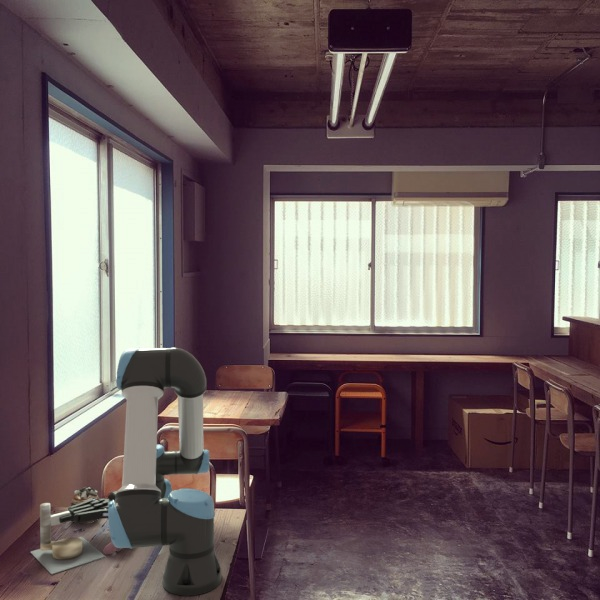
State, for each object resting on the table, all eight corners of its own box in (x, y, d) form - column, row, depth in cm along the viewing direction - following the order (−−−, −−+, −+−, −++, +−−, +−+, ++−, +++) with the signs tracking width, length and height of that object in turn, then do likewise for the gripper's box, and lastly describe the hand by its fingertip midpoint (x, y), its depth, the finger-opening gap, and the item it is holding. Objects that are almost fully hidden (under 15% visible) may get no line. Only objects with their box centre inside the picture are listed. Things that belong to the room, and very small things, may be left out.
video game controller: (114, 561, 174) (124, 541, 173) (100, 553, 175) (110, 532, 174) (130, 546, 184) (139, 526, 183) (117, 538, 184) (127, 518, 183)
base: (105, 557, 173) (105, 555, 173) (51, 574, 163) (51, 573, 163) (81, 537, 186) (81, 536, 186) (30, 552, 176) (30, 551, 176)
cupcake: (63, 521, 197) (63, 491, 197) (87, 510, 206) (86, 481, 205) (84, 527, 193) (84, 496, 192) (107, 516, 201) (107, 486, 201)
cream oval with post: (87, 547, 178) (86, 501, 177) (74, 560, 170) (73, 512, 169) (48, 545, 179) (47, 499, 179) (33, 557, 171) (32, 510, 171)
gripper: (133, 519, 187) (54, 542, 172) (115, 506, 197) (39, 527, 182) (132, 495, 187) (53, 516, 172) (115, 484, 197) (39, 502, 181)
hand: (46, 521), depth 177 cm, fingers closed
